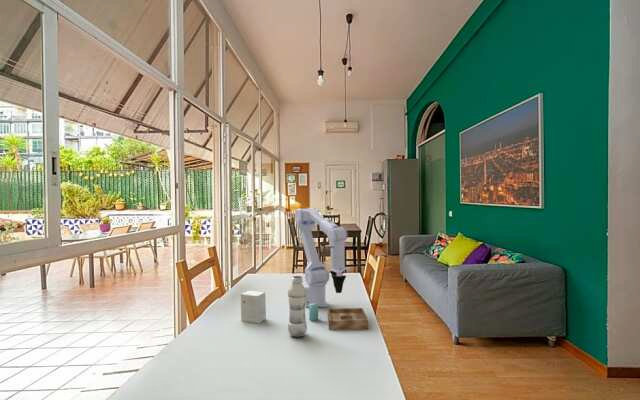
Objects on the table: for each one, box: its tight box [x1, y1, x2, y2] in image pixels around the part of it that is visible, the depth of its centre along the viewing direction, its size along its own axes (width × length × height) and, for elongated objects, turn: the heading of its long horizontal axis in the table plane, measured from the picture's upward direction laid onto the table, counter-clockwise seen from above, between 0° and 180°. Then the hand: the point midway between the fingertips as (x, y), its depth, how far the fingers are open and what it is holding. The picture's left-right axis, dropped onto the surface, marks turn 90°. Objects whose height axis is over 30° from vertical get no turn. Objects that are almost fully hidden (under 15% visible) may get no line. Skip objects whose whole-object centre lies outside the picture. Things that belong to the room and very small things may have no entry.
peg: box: [308, 303, 319, 322], centre depth 134 cm, size 3×3×6 cm
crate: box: [327, 307, 369, 331], centre depth 131 cm, size 14×14×3 cm
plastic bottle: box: [287, 275, 308, 338], centre depth 118 cm, size 6×7×20 cm
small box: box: [240, 290, 267, 324], centre depth 134 cm, size 8×6×10 cm
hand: (337, 290), depth 140 cm, fingers open, 7 cm apart
